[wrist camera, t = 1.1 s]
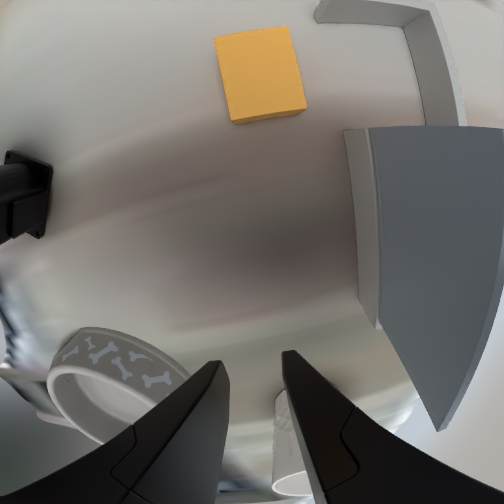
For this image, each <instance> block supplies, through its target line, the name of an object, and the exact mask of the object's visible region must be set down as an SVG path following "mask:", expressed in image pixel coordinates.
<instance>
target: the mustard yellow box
mask: <svg viewBox="0 0 504 504" xmlns="http://www.w3.org/2000/svg"><path fill="white" fill-rule="evenodd" d="M214 42H215V46H216V51H217V56H218V61H219V65H220V70H221V75H222V79H223V84H224V89H225V94H226V99H227V103H228V108H229V113H230V118H231V121H232V122H233V123H234V124H236V125H237V124H242V123H247V122H253V121H258V120H264V119H270V118H276V117H283V116H290V115H298V114H300V113H301V112H303V111H304V110H306V109H307V104H306V99H305V94H304V89H303V85H302V80H301V76H300V72H299V67H298V63H297V59H296V55H295V51H294V47H293V43H292V40H291V36H290V32H289V29H288V27H278V28H270V29H262V30H255V31H249V32H243V33H237V34H232V35H227V36H222V37H217V38H214Z"/></svg>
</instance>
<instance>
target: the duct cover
mask: <svg viewBox="0 0 504 504" xmlns="http://www.w3.org/2000/svg"><path fill="white" fill-rule="evenodd" d="M369 130H370V136H371V142H372V149H373V156H374V164H375V173H376V182H377V193H378V205H379V221H380V245H381V291H380V315H379V324H381V326H382V327H383V329H384V331H385V333H386V334H387V336H388V338H389V340H390V341H391V343H392V345H393V347H394V348H395V350H396V352H397V354H398V356H399V357H400V359H401V361H402V363H403V365H404V367H405V369H406V370H407V372H408V374H409V376H410V378H411V380H412V382H413V384H414V386H415V388H416V390H417V392H418V394H419V396H420V398H421V400H422V402H423V404H424V406H425V408H426V410H427V412H428V414H429V416H430V418H431V420H432V422H433V425H434V427H435V429H436V431H437V432H439V431H441V430H444V429H446V427H447V426H448V424H449V422H450V421H451V419H452V417H453V415H454V414H455V412H456V410H457V408H458V406H459V404H460V402H461V401H462V399H463V397H464V394H465V392H466V390H467V388H468V386H469V384H470V382H471V380H472V378H473V375H474V373H475V371H476V369H477V366H478V364H479V361H480V359H481V357H482V354H483V351H484V349H485V346H486V343H487V340H488V338H489V335H490V332H491V329H492V326H493V323H494V319H495V316H496V313H497V309H498V306H499V302H500V298H501V294H502V290H503V286H504V129H499V128H487V127H472V126H394V127H377V128H369Z"/></svg>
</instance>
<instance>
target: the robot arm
mask: <svg viewBox="0 0 504 504" xmlns="http://www.w3.org/2000/svg"><path fill="white" fill-rule="evenodd" d="M46 170H47V172H46ZM52 171H53V170H52V167H51V166H50V165H48V164H46V163H43V162H41V161H38V160H36V159H33V158H30V157H28V156H25V155H23V154H20V153H18V152H15V151H13V150H9V151H7V152H6V155H5V161H4V165H2V166H0V245H1V244H3V243H5V242H6V241H8V240H10V239H11V238H13V239H15V238H17V237H19V236H20V235H22V234H24V233H28V234H30V235H32V236H33V237H35V238H37V239H40V238H42V237H43V236H44V227H45V218H46V209H47V202H48V195H49V189H50V183H51V177H52ZM38 232H39V233H38ZM281 356H282V375H283V381H284V385H285V390H286V395H287V400H288V405H289V409H290V414H291V418H292V422H293V426H294V430H295V433H296V437H297V440H298V444H299V447H300V451H301V454H302V458H303V461H304V465H305V468H306V472H307V476H308V479H309V483H310V486H311V490H312V493H313V497H314V500H315V503H316V504H504V492H502V491H500V490H498V489H495V488H493V487H491V486H488V485H486V484H484V483H482V482H480V481H478V480H476V479H474V478H472V477H469V476H467V475H465V474H463V473H461V472H459V471H458V470H455V469H454V468H451V467H450V466H448V465H446V464H444V463H442V462H440V461H439V460H437V459H435V458H433V457H431V456H429V455H427V454H426V453H424V452H422V451H420V450H419V449H417V448H415V447H414V446H412V445H410V444H409V443H407V442H405V441H403V440H402V439H400V438H398V437H397V436H395V435H394V434H392V433H391V432H389V431H388V430H386V429H385V428H383V427H382V426H380V425H379V424H377V423H376V422H375V421H374V420H372V419H371V418H370V417H369V416H367V415H366V414H365V413H364V412H363V411H362V410H360V409H359V408H358V407H356V406H355V405H354V404H353V403H352V402H351V401H350V400H349V399H348V398H346V397H345V396H344V395H343V394H342V393H341V392H340V391H339V390H338V389H336V388H335V387H334V386H333V385H332V384H331V383H330V382H329V381H328V380H327V379H325V378H324V377H323V376H322V375H321V374H320V373H319V372H318V371H317V370H316V369H315V368H314V367H313V366H311V365H310V364H309V363H308V362H307V361H306V360H305V359H304V358H303V357H302V356H301V355H300V354H299V353H298V352H297V351H295V350H289V351H283V352H282V354H281ZM229 399H230V381H229V377H228V374H227V372H226V369H225V367H224V364H223V362H222V361H221V360H215V361H209V362H207V363H206V364H205V365H204V366H203V367H202V368H200V369H199V370H198V371H197V372H196V373H195V374H193V375H192V376H191V377H190V378H189V379H187V380H186V381H185V382H184V383H183V384H181V385H180V386H179V387H178V388H177V389H175V390H174V391H173V392H172V393H171V394H169V395H168V396H167V397H166V398H165V399H163V400H162V401H161V402H160V403H158V404H157V405H156V406H155V407H153V408H152V409H151V410H150V411H148V412H147V413H146V414H145V415H143V416H142V417H141V418H139V419H138V420H137V421H136V422H134V423H133V425H132V424H131V425H130V426H128V427H127V428H126V429H125V430H123V431H122V432H120V433H119V434H118V435H116V436H115V437H113V438H112V439H111V440H109V441H108V442H106V443H105V444H103V445H101V446H100V447H98V448H97V449H95V450H94V451H92V452H90V453H88V454H86V455H85V456H83V457H81V458H79V459H78V460H76V461H74V462H72V463H70V464H69V465H67V466H65V467H63V468H61V469H59V470H57V471H55V472H53V473H52V474H50V475H48V476H46V477H44V478H42V479H40V480H38V481H36V482H33V483H31V484H30V485H27V486H25V487H23V488H21V489H18V490H16V491H14V492H12V493H9V494H7V495H4V496H0V504H214V503H215V498H216V492H217V487H218V481H219V475H220V470H221V464H222V458H223V453H224V447H225V441H226V436H227V430H228V423H229Z"/></svg>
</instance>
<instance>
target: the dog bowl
mask: <svg viewBox="0 0 504 504" xmlns="http://www.w3.org/2000/svg"><path fill="white" fill-rule="evenodd" d="M190 377H191V375H190V374H189V373H188V372H187V371H186V370H185V369H184V368H183V367H182V366H181V365H180V364H179V363H177V362H176V361H175V360H174V359H172V358H171V357H170V356H168V355H167V354H165V353H164V352H162V351H161V350H159V349H158V348H156V347H154V346H152V345H150V344H149V343H147V342H145V341H142V340H140V339H138V338H136V337H133V336H131V335H128V334H125V333H122V332H119V331H115V330H111V329H106V328H98V327H84V328H80V330H79V331H78V332H77V334H76V335H75V336H74V337H73V338H72V339H71V340H70V341H69V342H68V343H67V344H66V345H65V346H64V347H63V348H62V349H61V350H60V351H59V352H58V353H57V354H56V355H55V356H54V358H53V361H52V365H51V367H50V370H49V372H48V375H47V388H48V392H49V394H50V396H51V398H52V400H53V402H54V404H55V405H56V407H57V408H58V409H59V411H60V412H61V413H62V414H63V415H64V417H65V418H66V419H67V420H68V421H69V422H70V423H71V424H73V425H74V426H75V427H76V428H77V429H79V430H80V431H81V432H83V433H84V434H85V435H87V436H88V437H90V438H91V439H93V440H94V441H96V442H98V443H100V444H102V445H103V444H105V443H106V442H108V441H109V440H111V439H112V438H113V437H115V436H116V435H118V434H119V433H120V432H122V431H123V430H125V429H126V428H127V427H128V426H130V425H131V424H132V425H133V423H134V422H136V421H137V420H138V419H139V418H141V417H142V416H143V415H145V414H146V413H147V412H148V411H150V410H151V409H152V408H153V407H155V406H156V405H157V404H158V403H160V402H161V401H162V400H163V399H165V398H166V397H167V396H168V395H169V394H171V393H172V392H173V391H174V390H175V389H177V388H178V387H179V386H180V385H181V384H183V383H184V382H185V381H186V380H187V379H189V378H190ZM68 380H69V381H68Z"/></svg>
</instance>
